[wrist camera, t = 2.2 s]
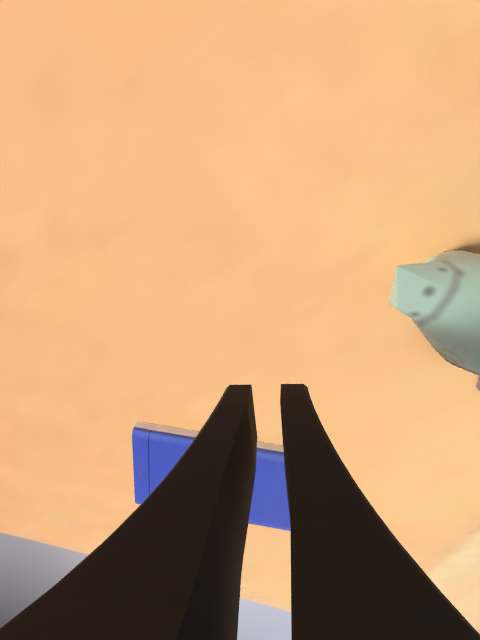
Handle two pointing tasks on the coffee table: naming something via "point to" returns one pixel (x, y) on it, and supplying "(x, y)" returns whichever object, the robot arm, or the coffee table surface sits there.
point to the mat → (479, 384)
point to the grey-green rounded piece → (444, 304)
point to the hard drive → (171, 443)
